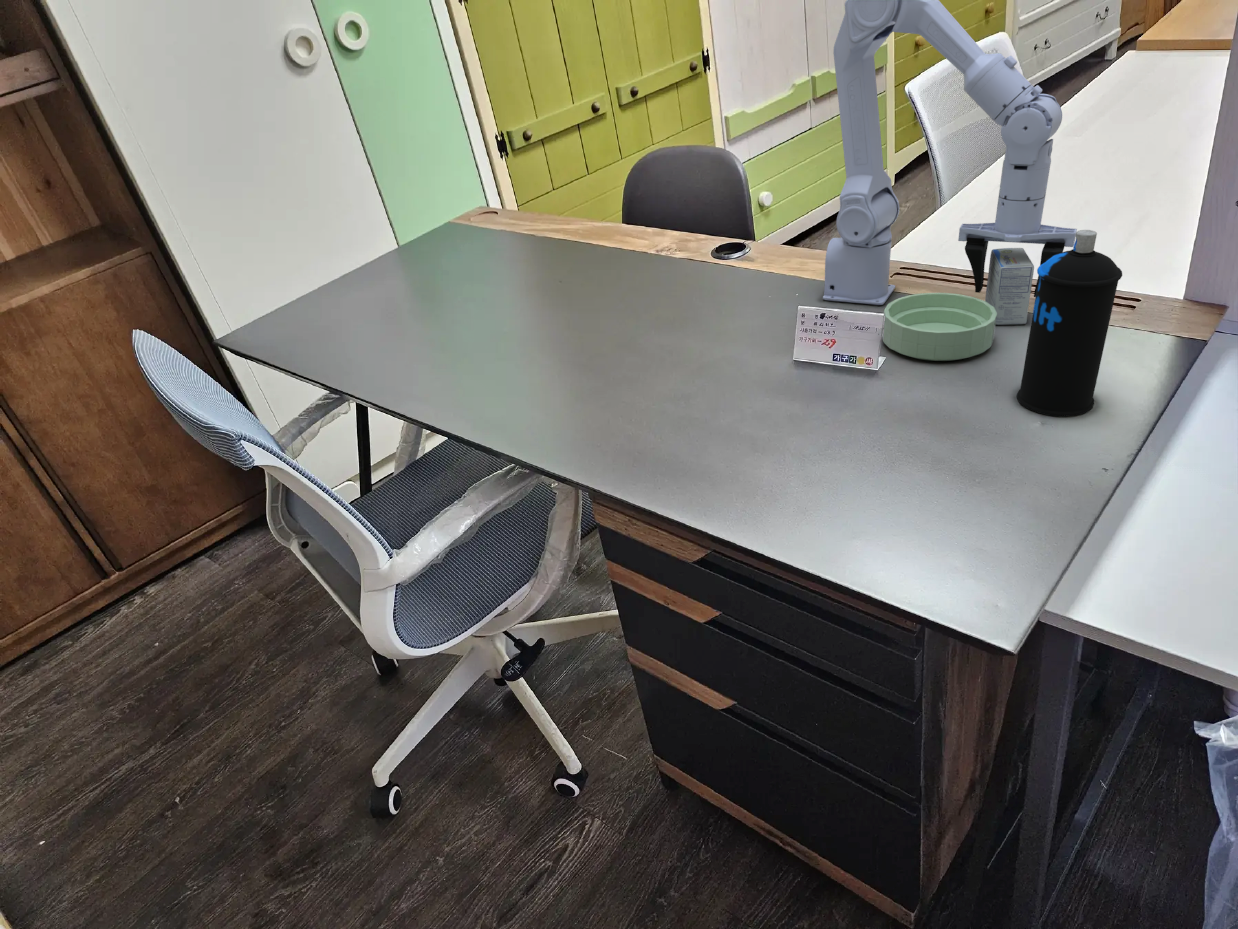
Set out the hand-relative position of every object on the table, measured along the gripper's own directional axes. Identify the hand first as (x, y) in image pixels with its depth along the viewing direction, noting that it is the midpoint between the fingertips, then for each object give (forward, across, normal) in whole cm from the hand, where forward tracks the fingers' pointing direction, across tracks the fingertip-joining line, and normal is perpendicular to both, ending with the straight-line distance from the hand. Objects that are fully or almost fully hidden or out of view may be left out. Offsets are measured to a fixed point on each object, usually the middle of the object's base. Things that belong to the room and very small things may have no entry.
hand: (1007, 292), depth 120 cm
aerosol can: (+4, +9, -25) cm, 27 cm away
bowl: (+3, -7, -12) cm, 14 cm away
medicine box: (+4, 0, 0) cm, 4 cm away
